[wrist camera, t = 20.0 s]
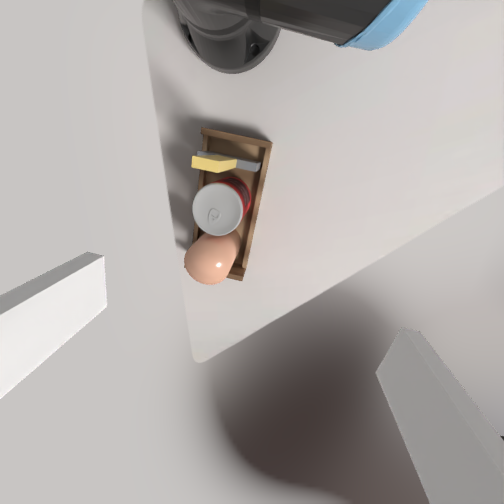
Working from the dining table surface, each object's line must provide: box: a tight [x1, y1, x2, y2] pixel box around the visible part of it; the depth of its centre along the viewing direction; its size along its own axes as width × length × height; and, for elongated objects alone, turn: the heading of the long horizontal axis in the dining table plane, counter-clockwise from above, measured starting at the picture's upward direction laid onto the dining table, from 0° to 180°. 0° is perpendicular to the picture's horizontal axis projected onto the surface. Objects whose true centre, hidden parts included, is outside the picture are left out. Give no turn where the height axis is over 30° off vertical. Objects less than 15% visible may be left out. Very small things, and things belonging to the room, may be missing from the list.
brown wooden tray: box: [184, 127, 273, 281], centre depth 44 cm, size 25×12×6 cm, turn 169°
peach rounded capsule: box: [184, 229, 241, 285], centre depth 44 cm, size 8×8×11 cm
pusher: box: [191, 151, 261, 173], centre depth 34 cm, size 1×9×18 cm, turn 79°
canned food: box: [192, 177, 251, 236], centre depth 40 cm, size 8×8×11 cm
